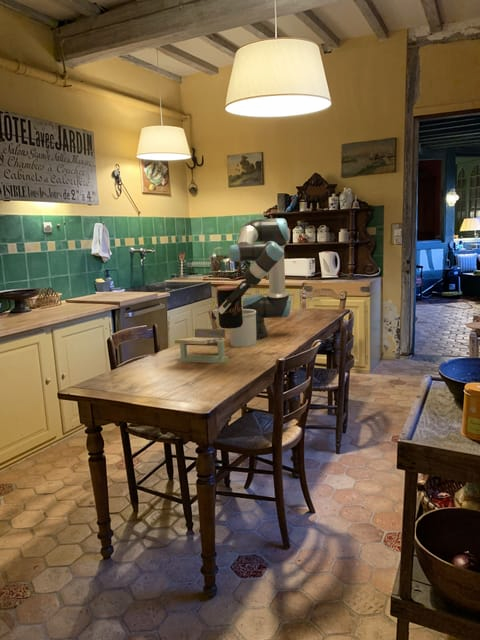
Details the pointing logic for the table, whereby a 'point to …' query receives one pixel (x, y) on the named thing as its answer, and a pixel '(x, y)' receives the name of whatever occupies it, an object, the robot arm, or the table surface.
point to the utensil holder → (245, 330)
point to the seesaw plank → (204, 337)
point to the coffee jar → (229, 308)
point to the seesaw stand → (203, 358)
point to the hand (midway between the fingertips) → (223, 309)
